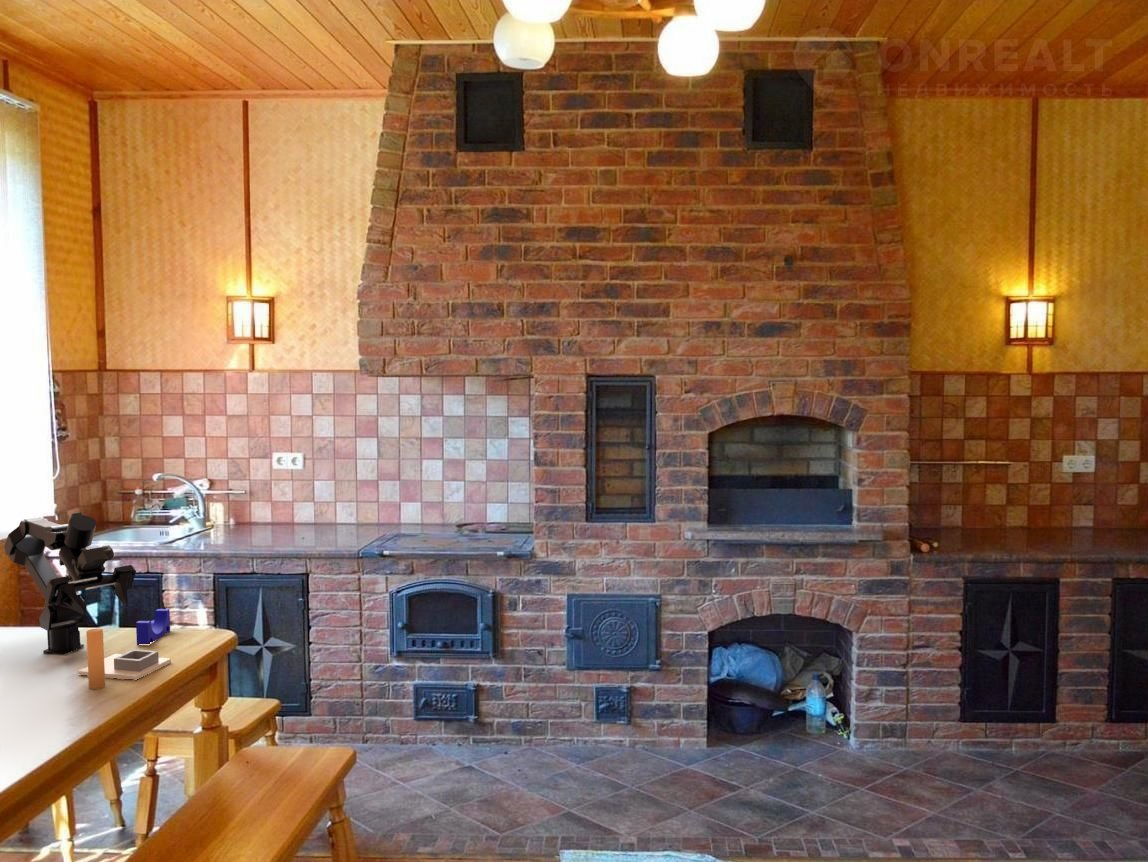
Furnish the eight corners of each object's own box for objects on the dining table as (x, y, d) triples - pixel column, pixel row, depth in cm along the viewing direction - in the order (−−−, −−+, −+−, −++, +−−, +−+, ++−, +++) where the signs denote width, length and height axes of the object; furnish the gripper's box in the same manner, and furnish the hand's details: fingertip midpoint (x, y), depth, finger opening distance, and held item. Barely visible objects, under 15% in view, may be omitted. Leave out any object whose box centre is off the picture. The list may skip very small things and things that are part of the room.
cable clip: (153, 631, 242) (152, 608, 242) (170, 631, 242) (169, 609, 242) (130, 646, 230) (129, 622, 230) (148, 646, 230) (148, 622, 230)
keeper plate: (78, 675, 210) (77, 660, 209) (115, 657, 221) (114, 643, 221) (136, 680, 206) (135, 665, 206) (170, 662, 218) (170, 648, 218)
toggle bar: (85, 688, 202) (82, 632, 200) (96, 683, 205) (93, 628, 204) (98, 689, 201) (95, 633, 200) (108, 684, 204) (106, 629, 203)
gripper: (42, 543, 207) (69, 590, 199) (126, 531, 221) (155, 574, 214) (33, 580, 211) (60, 627, 204) (116, 565, 226) (144, 609, 218)
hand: (106, 608), depth 210 cm, fingers open, 9 cm apart
